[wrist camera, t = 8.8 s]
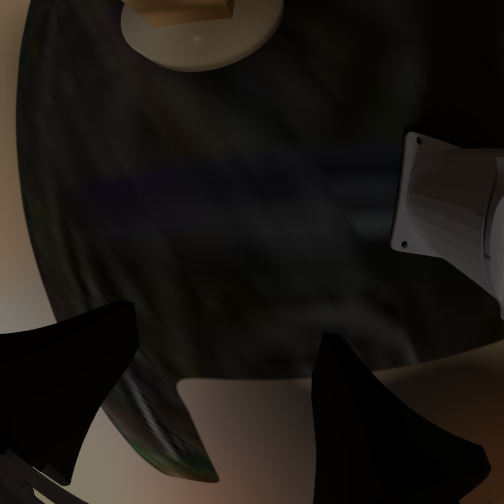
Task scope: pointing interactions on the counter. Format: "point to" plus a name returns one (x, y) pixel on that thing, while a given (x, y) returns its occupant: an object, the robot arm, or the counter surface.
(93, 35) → the counter surface
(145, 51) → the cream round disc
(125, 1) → the oak cube
